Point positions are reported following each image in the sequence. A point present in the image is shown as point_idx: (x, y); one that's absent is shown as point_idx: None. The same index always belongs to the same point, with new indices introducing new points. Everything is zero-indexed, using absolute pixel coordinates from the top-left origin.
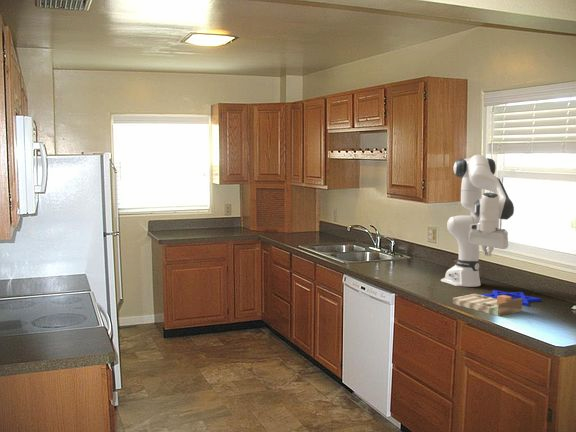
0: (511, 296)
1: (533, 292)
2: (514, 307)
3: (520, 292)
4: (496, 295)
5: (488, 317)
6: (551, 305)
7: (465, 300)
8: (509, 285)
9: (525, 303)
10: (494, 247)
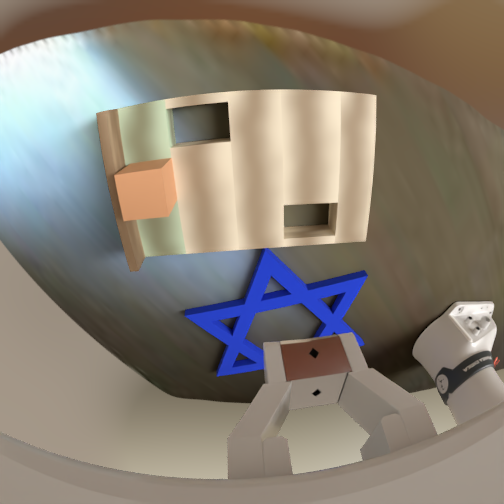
0: None
1: None
2: None
3: None
4: (320, 311)
5: (131, 58)
6: (169, 359)
7: (314, 101)
8: None
9: (195, 313)
10: (110, 472)
